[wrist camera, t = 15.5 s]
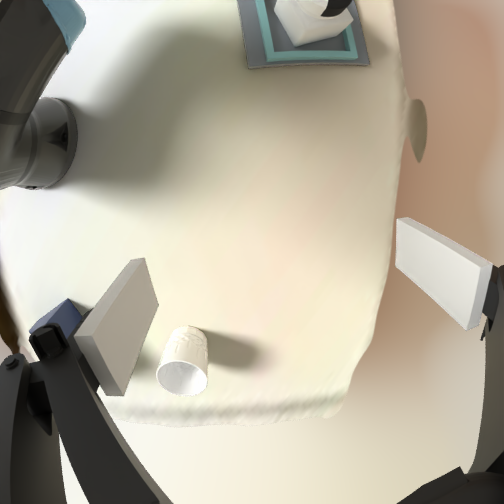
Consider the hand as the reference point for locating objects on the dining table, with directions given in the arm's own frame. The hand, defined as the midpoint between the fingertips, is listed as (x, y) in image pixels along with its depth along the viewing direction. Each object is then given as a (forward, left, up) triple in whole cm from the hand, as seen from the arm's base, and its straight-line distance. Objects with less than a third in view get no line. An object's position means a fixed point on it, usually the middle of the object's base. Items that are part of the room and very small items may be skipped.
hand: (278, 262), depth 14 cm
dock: (-13, +23, -29) cm, 39 cm away
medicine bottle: (-13, +23, -28) cm, 38 cm away
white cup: (+12, -26, -29) cm, 41 cm away
